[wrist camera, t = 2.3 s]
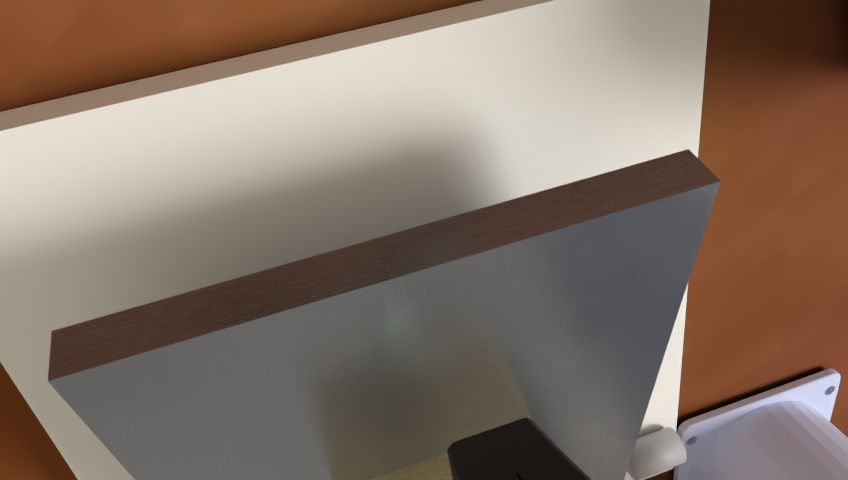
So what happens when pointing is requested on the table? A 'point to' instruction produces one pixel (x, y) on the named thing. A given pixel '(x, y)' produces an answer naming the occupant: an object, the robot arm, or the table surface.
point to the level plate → (407, 342)
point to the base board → (329, 165)
